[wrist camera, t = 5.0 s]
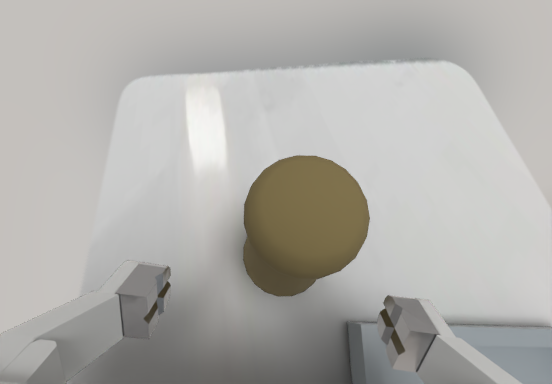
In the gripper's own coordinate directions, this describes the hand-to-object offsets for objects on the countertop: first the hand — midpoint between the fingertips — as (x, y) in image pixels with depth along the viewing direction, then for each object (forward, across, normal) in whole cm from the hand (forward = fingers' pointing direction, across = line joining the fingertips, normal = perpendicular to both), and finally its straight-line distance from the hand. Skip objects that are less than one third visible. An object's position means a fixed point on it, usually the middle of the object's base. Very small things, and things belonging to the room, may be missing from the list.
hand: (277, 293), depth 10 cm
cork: (+9, -1, +4) cm, 10 cm away
